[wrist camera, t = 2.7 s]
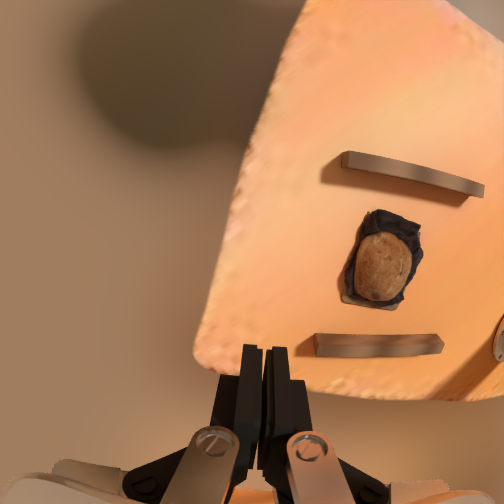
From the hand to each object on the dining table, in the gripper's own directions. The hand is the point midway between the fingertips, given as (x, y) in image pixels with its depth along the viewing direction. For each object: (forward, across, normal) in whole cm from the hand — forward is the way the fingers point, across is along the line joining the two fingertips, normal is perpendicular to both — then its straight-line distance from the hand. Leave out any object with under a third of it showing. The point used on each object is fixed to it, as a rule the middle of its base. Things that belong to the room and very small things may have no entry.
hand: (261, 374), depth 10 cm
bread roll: (+19, -13, 0) cm, 23 cm away
